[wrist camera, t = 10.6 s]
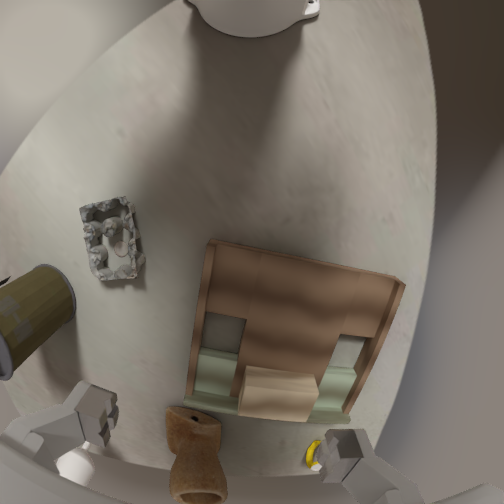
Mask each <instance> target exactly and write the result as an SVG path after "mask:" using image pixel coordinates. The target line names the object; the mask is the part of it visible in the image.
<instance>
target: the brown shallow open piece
mask: <svg viewBox="0 0 504 504" xmlns="http://www.w3.org/2000/svg"><path fill="white" fill-rule="evenodd" d="M405 286H406V285H405V284H404V283H403V282H402V281H400V280H399V279H398V278H396V277H395V276H390V275H386V274H381V273H376V272H371V271H366V270H361V269H357V268H352V267H347V266H342V265H337V264H332V263H327V262H322V261H318V260H313V259H308V258H303V257H298V256H293V255H288V254H283V253H278V252H273V251H268V250H263V249H258V248H253V247H248V246H244V245H239V244H234V243H229V242H224V241H219V240H214V239H210V241H209V243H208V244H207V247H206V253H205V259H204V265H203V271H202V277H201V284H200V290H199V296H198V303H197V310H196V316H195V323H194V330H193V338H192V345H191V353H190V360H189V368H188V377H187V385H186V394H185V398H184V402H183V405H184V406H188V407H193V408H198V409H203V410H208V411H213V412H219V413H225V414H231V415H238V403H239V393H240V389H241V385H242V381H243V377H244V373H245V370H246V366H253V367H260V368H266V369H273V370H281V371H289V372H297V373H306V374H314V377H315V381H316V384H317V388H318V391H319V395H318V398H317V400H316V402H315V404H314V406H313V408H312V411H311V413H310V415H309V417H308V419H307V421H306V422H304V423H326V424H349V422H350V420H351V419H350V416H349V412H350V410H351V408H352V407H353V405H354V403H355V401H356V399H357V397H358V395H359V393H360V392H361V390H362V388H363V386H364V384H365V382H366V380H367V378H368V376H369V374H370V372H371V369H372V367H373V365H374V363H375V361H376V359H377V357H378V354H379V352H380V350H381V348H382V345H383V343H384V341H385V338H386V336H387V334H388V331H389V329H390V326H391V324H392V321H393V319H394V316H395V314H396V311H397V309H398V306H399V303H400V301H401V298H402V295H403V292H404V289H405ZM206 311H208V312H212V313H217V314H222V315H227V316H233V317H238V318H243V319H246V321H245V325H244V329H243V334H242V338H241V342H240V347H239V351H238V354H236V353H230V352H225V351H220V350H214V349H209V348H205V347H201V341H202V335H203V328H204V322H205V316H206ZM340 334H346V335H354V336H363V337H367V338H366V341H365V343H364V345H363V348H362V350H361V352H360V355H359V357H358V359H357V362H356V364H355V366H354V368H341V367H330V366H328V364H329V361H330V359H331V356H332V354H333V351H334V349H335V346H336V343H337V341H338V338H339V336H340ZM238 416H239V415H238ZM244 417H246V416H244ZM252 418H254V417H252ZM260 419H262V418H260ZM269 420H271V419H269ZM278 421H281V420H278ZM290 422H294V421H290Z"/></svg>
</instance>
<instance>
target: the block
mask: <svg viewBox="0 0 504 504" xmlns="http://www.w3.org/2000/svg"><path fill="white" fill-rule="evenodd" d="M318 395H319V391H318V388H317V384H316V381H315V377H314V374H306V373H297V372H289V371H281V370H273V369H266V368H260V367H253V366H246V370H245V373H244V377H243V381H242V385H241V389H240V393H239V403H238V415H239V416H246V417H254V418H262V419H271V420H281V421H294V422H306V421H307V419H308V417H309V415H310V413H311V411H312V408H313V406H314V404H315V402H316V400H317V398H318Z"/></svg>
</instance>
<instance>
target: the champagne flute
mask: <svg viewBox="0 0 504 504" xmlns="http://www.w3.org/2000/svg"><path fill="white" fill-rule="evenodd" d="M90 445H91V443H89V442H87V441H85V443H84V444H83V446H82V448H74V449H73V450H71V451H69V452H68V453H66V454H64V455H62V456H60V457H59V459H58V461H57V464H56V466H57V468H58V470H59V472H60V475H61V476H63V477H65V478H67V479H69V480H71V481H73V482H76V483H78V484H80V485H82V486H85V487H86V486H87V484H88V483H89V481H90V479H91V478H92V476H93V474H94V472H95V468H94V464H93V461H92V460H91V457H90V456H89V454H88V453H87V451H88V449H89V447H90Z"/></svg>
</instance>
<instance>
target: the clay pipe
mask: <svg viewBox="0 0 504 504" xmlns="http://www.w3.org/2000/svg"><path fill="white" fill-rule="evenodd" d="M221 427H222V426H221V423H220V422H219V421H218V420H216V419H214V418H212V417H211V416H209V415H206V414H204V413H202V412H199V411H196V410H192V409H188V408H183V407H167V409H166V428H167V429H166V431H167V441H168V446H169V449H170V451H171V452H172V453H174V454H176V455H177V457H176V459H175V462H174V464H173V466H172V468H171V473H170V484H169V487H170V494H171V496H172V497H173V498H174V499H175V500H176V501H177V502H179V503H181V504H221V503H223V502H225V500H226V499H227V495H228V493H227V482H226V478H225V475H224V472H223V470H222V467H221V465H220V462H219V459H218V456H217V453H218V451H219V449H220V443H221Z"/></svg>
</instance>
